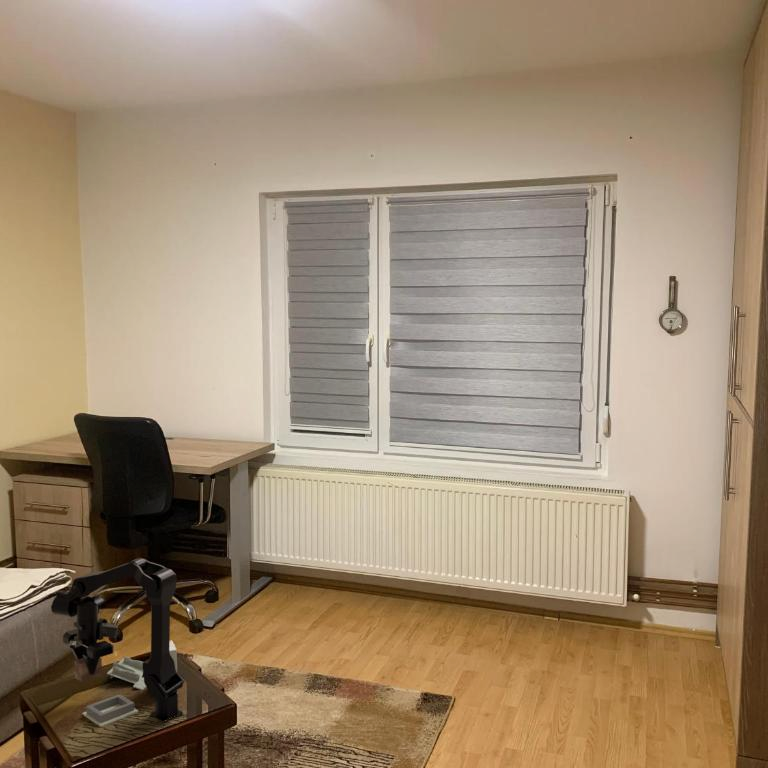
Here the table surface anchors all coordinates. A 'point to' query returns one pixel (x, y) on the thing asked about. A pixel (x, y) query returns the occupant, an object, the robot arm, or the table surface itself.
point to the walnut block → (86, 670)
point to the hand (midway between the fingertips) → (88, 672)
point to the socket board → (110, 710)
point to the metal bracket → (129, 672)
